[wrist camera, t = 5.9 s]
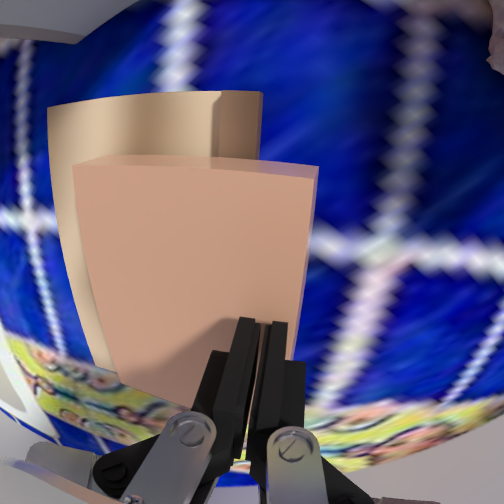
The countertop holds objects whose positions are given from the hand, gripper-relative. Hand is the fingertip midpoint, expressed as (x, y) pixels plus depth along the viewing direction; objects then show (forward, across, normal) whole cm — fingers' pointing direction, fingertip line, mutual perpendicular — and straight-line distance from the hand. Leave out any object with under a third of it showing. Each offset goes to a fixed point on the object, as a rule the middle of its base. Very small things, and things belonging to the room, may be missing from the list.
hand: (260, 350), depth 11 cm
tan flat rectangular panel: (+5, +7, 0) cm, 8 cm away
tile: (+2, -1, 0) cm, 2 cm away
